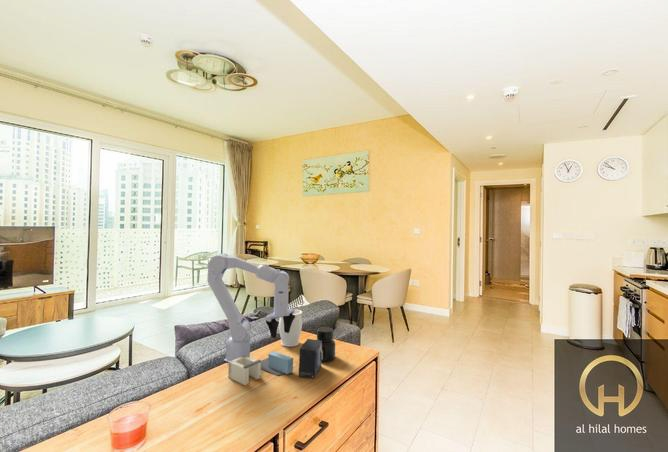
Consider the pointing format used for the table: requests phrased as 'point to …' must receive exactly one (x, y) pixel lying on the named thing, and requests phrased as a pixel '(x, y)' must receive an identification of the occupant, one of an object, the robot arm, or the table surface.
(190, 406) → the table surface
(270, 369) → the mat
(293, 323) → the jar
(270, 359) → the slab
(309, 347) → the small box
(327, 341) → the ink bottle
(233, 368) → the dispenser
